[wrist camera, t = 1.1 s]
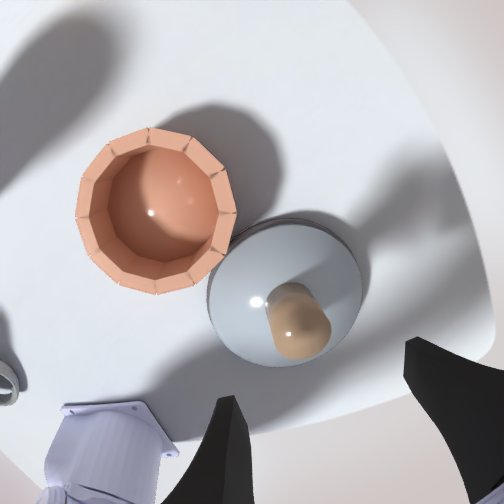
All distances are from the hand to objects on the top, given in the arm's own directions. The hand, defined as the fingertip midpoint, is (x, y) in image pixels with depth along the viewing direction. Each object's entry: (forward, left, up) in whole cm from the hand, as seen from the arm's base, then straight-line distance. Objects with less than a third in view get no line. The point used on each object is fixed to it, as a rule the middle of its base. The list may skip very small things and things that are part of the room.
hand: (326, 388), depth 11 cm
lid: (0, 0, -8) cm, 8 cm away
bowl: (-6, +8, -9) cm, 13 cm away
